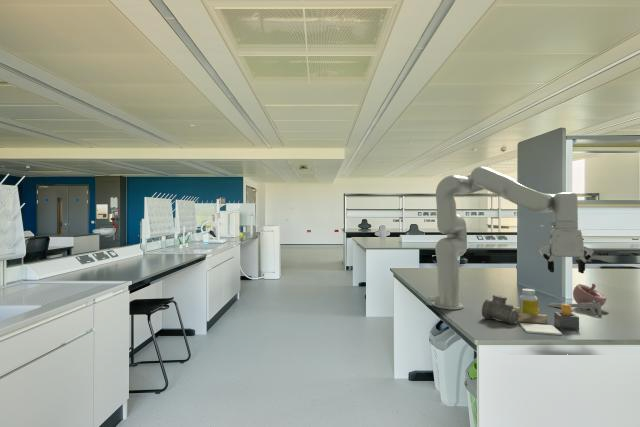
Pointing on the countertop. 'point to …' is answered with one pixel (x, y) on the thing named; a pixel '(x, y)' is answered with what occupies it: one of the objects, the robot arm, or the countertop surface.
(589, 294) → the mortar and pestle
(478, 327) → the countertop surface
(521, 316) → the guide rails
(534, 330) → the pad
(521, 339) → the countertop surface
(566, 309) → the plunger
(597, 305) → the caliper
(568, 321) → the block
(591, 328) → the countertop surface
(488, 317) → the pipe fitting
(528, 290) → the pill bottle
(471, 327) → the countertop surface
